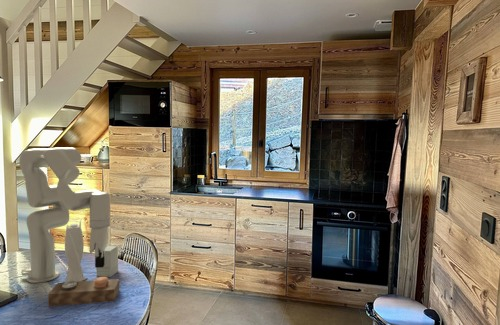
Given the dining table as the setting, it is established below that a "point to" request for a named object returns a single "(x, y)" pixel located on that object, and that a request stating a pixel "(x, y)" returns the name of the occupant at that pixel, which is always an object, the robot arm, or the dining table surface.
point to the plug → (69, 285)
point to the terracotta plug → (101, 282)
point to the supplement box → (109, 262)
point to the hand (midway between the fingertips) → (99, 266)
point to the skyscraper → (74, 252)
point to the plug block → (83, 293)
